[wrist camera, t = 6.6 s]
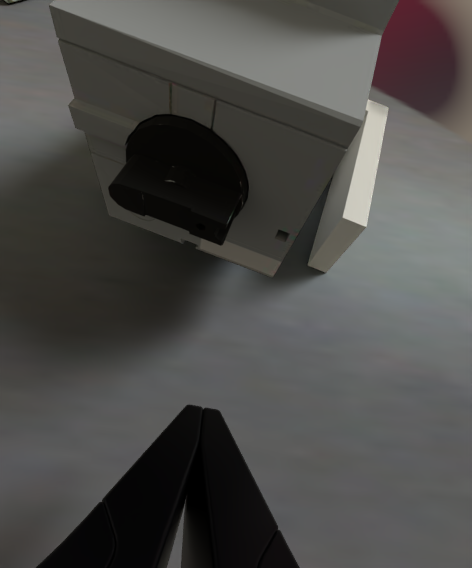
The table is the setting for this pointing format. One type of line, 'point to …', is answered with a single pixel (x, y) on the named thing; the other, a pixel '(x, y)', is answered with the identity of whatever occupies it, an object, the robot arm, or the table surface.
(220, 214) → the circuit breaker
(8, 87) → the table surface
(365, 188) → the mounting bay
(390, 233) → the table surface
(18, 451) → the table surface
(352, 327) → the table surface
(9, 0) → the syrup box
